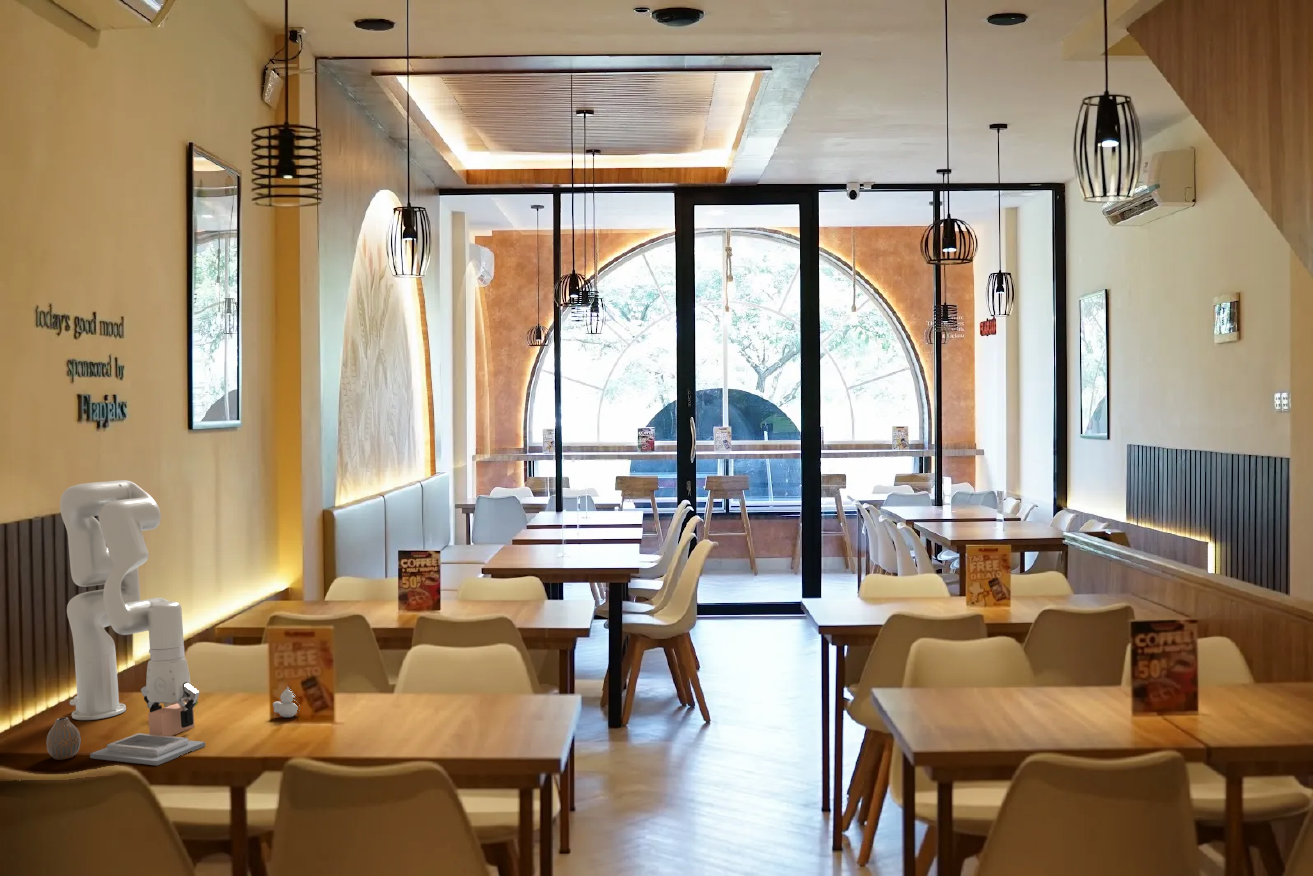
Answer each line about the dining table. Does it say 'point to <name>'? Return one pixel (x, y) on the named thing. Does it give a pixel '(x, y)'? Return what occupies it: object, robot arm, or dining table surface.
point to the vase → (63, 739)
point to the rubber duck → (286, 704)
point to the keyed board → (147, 749)
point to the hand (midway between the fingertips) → (172, 724)
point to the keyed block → (167, 721)
